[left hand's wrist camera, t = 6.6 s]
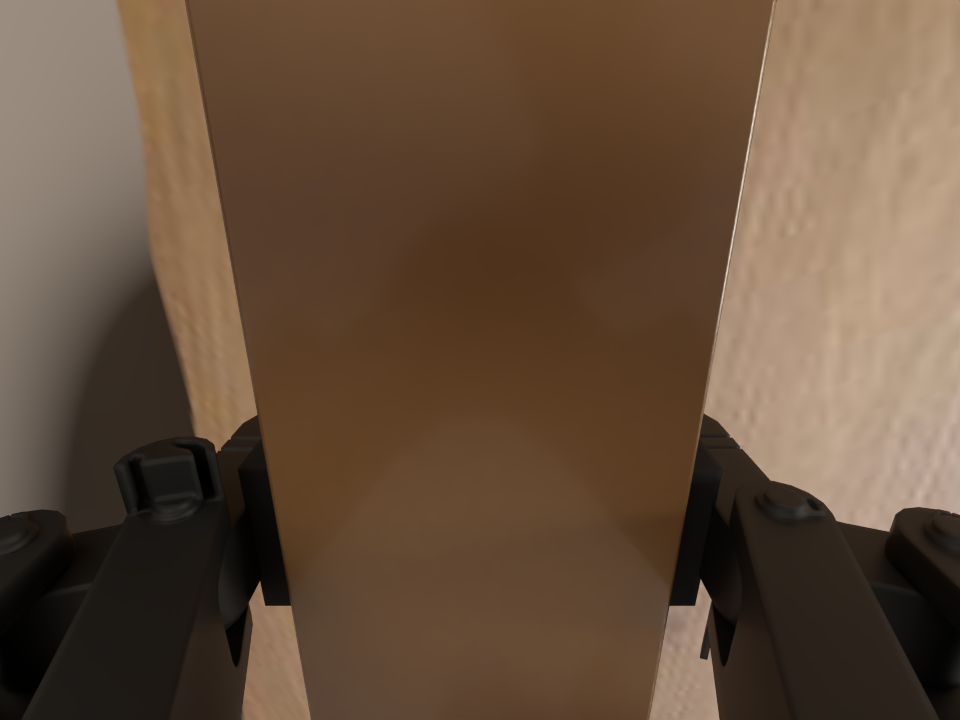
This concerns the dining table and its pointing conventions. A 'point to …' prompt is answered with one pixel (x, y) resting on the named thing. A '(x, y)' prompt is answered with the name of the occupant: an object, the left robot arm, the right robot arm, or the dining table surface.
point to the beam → (480, 327)
